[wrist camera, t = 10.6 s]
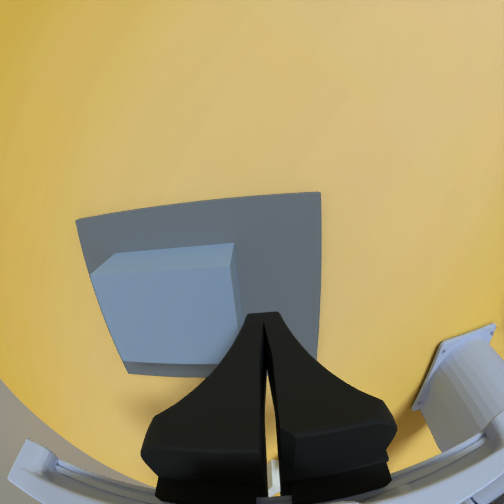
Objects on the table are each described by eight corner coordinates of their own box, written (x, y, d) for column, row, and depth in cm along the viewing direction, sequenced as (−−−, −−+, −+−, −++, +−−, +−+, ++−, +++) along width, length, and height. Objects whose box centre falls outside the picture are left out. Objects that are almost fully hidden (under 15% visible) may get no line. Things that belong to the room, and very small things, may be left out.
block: (243, 363, 13) (119, 360, 13) (244, 329, 16) (136, 331, 16) (229, 265, 11) (86, 275, 11) (234, 242, 14) (112, 253, 14)
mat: (314, 366, 18) (315, 370, 17) (129, 369, 18) (128, 373, 18) (318, 191, 13) (320, 192, 13) (78, 218, 14) (75, 220, 14)
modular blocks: (309, 472, 26) (313, 495, 22) (259, 473, 26) (259, 498, 22) (383, 380, 19) (399, 414, 15) (310, 381, 19) (320, 421, 15)
